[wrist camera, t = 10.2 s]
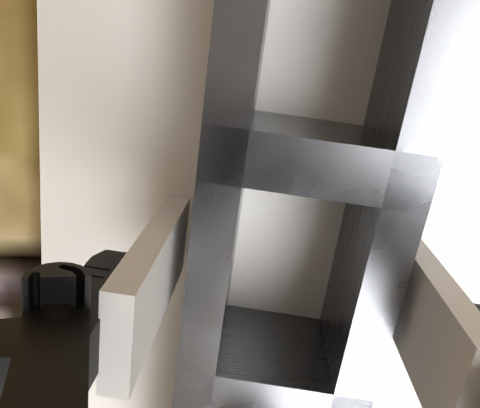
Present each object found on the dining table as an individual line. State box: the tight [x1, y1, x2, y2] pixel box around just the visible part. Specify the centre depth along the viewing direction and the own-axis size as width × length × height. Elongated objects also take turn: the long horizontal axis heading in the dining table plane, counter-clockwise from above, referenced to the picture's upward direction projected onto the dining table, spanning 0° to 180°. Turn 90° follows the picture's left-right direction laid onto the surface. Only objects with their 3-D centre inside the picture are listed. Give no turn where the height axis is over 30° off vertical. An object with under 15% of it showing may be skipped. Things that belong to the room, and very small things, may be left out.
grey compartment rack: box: [172, 0, 480, 408], centre depth 14 cm, size 24×6×4 cm, turn 172°
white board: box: [37, 0, 480, 408], centre depth 17 cm, size 28×18×2 cm, turn 172°
